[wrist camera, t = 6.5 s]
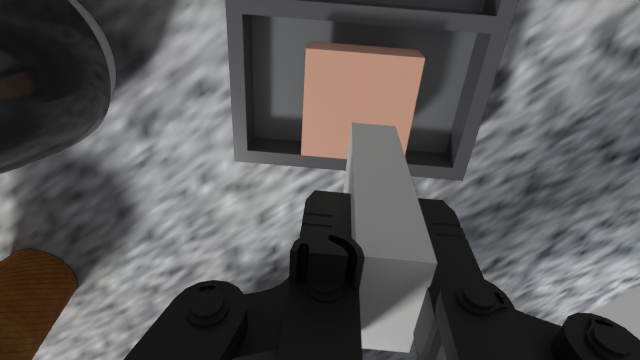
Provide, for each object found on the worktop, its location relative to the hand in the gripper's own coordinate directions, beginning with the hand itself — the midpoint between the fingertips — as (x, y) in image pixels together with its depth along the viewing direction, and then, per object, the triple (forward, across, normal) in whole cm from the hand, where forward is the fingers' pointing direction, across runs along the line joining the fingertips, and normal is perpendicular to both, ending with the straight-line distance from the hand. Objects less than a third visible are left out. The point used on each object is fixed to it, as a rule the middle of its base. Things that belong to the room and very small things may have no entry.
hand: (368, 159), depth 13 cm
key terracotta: (+8, 0, 0) cm, 8 cm away
